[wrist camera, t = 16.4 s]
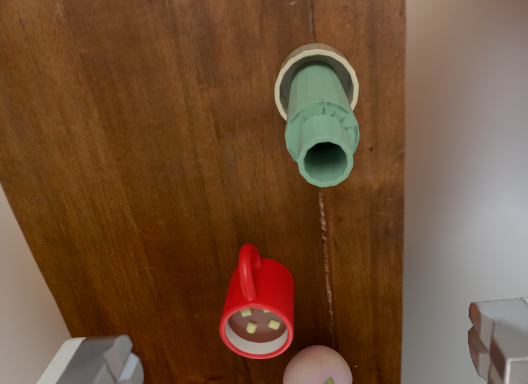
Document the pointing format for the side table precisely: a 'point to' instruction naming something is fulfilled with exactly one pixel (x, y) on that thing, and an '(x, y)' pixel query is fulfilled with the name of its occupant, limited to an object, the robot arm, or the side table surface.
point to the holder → (310, 54)
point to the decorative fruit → (317, 367)
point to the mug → (258, 307)
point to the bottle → (320, 125)
